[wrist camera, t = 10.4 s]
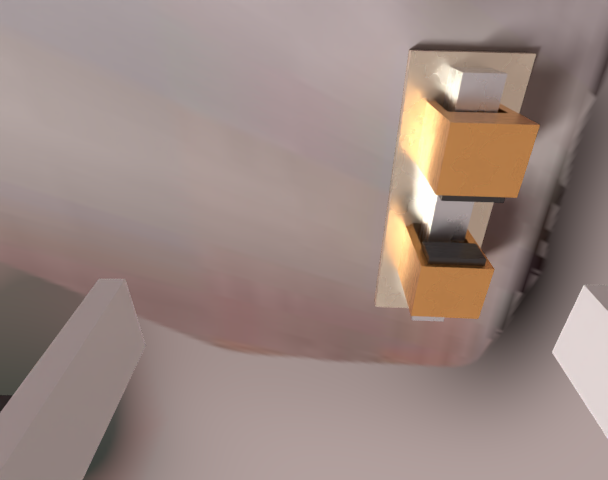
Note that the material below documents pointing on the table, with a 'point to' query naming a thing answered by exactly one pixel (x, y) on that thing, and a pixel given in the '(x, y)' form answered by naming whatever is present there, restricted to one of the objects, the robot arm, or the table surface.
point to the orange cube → (444, 277)
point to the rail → (454, 152)
